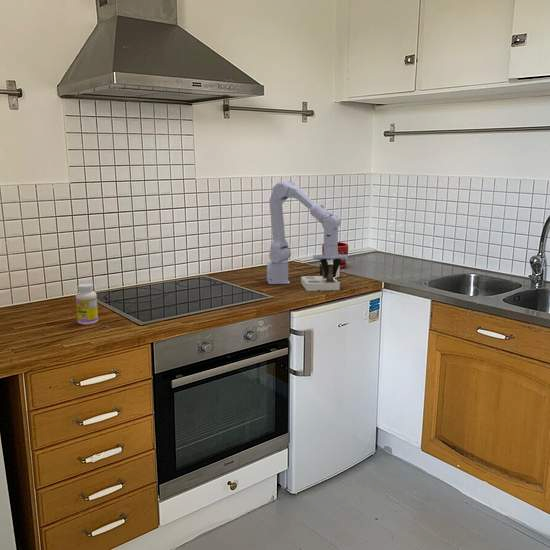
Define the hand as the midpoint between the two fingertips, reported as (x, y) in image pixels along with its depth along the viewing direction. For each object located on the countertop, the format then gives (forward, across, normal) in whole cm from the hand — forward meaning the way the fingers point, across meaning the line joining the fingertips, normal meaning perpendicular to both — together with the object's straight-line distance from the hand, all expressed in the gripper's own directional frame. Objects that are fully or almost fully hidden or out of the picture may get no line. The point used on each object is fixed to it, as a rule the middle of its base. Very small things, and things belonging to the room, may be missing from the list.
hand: (330, 276), depth 235 cm
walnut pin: (+2, 0, 0) cm, 2 cm away
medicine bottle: (+5, +4, +20) cm, 22 cm away
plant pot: (+5, +12, +44) cm, 47 cm away
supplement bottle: (+5, -92, -40) cm, 100 cm away
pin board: (+5, -4, +4) cm, 7 cm away
